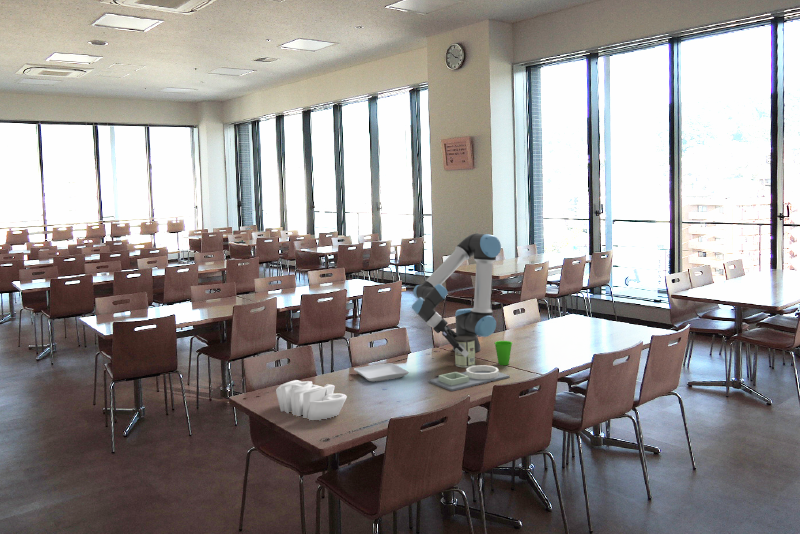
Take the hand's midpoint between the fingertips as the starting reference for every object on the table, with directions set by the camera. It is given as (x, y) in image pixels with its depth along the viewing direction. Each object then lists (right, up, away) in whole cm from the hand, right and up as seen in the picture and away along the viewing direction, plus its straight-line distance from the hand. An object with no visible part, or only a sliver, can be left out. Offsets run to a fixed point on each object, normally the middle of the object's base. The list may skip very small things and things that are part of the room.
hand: (467, 352), depth 340 cm
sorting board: (-2, -10, -25) cm, 27 cm away
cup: (+18, -6, +1) cm, 19 cm away
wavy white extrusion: (-72, -17, -62) cm, 96 cm away
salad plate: (-43, -10, -14) cm, 47 cm away
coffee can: (-1, -7, +1) cm, 7 cm away
